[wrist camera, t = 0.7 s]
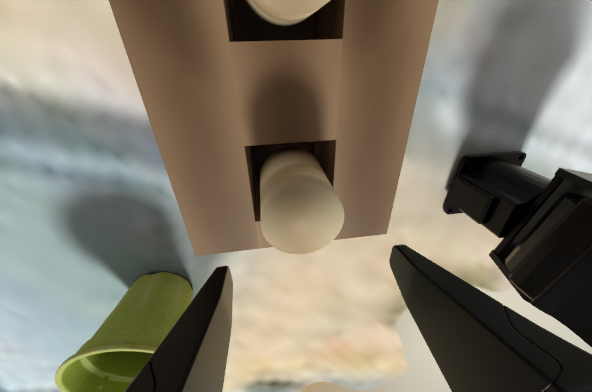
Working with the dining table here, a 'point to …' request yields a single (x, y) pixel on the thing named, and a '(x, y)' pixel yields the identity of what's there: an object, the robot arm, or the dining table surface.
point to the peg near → (285, 10)
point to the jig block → (277, 106)
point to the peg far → (298, 203)
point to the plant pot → (127, 336)
